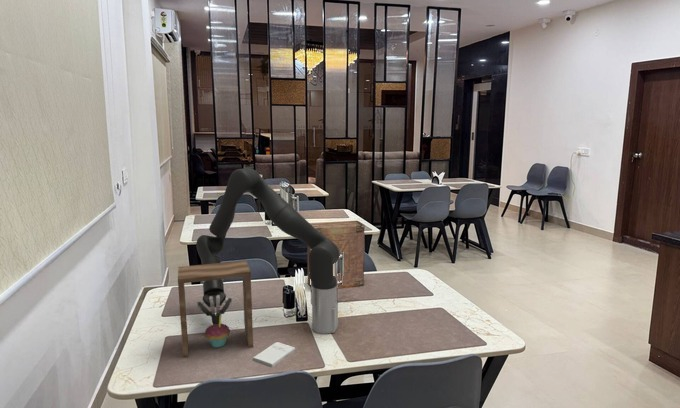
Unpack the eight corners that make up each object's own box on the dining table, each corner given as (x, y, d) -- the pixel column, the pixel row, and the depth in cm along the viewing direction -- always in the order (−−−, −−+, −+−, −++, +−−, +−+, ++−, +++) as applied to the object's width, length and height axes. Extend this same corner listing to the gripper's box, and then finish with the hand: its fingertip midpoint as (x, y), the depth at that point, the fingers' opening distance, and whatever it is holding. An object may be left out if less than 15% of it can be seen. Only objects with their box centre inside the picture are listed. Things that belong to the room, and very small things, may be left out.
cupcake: (235, 341, 157) (234, 309, 154) (219, 352, 149) (217, 319, 147) (216, 336, 160) (214, 305, 158) (200, 347, 153) (198, 314, 150)
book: (312, 291, 203) (311, 228, 197) (307, 285, 211) (306, 224, 206) (363, 285, 210) (364, 224, 205) (357, 279, 219) (357, 220, 214)
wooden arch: (183, 340, 157) (178, 266, 152) (248, 331, 164) (245, 260, 159) (183, 358, 145) (177, 279, 140) (253, 347, 152) (250, 271, 147)
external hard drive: (252, 361, 144) (276, 345, 155) (272, 368, 140) (295, 351, 151) (252, 357, 144) (276, 341, 155) (272, 364, 140) (295, 347, 151)
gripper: (194, 279, 164) (197, 324, 154) (231, 275, 168) (235, 318, 159) (195, 288, 170) (197, 331, 160) (230, 284, 174) (234, 326, 165)
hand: (216, 325), depth 160 cm, fingers closed
